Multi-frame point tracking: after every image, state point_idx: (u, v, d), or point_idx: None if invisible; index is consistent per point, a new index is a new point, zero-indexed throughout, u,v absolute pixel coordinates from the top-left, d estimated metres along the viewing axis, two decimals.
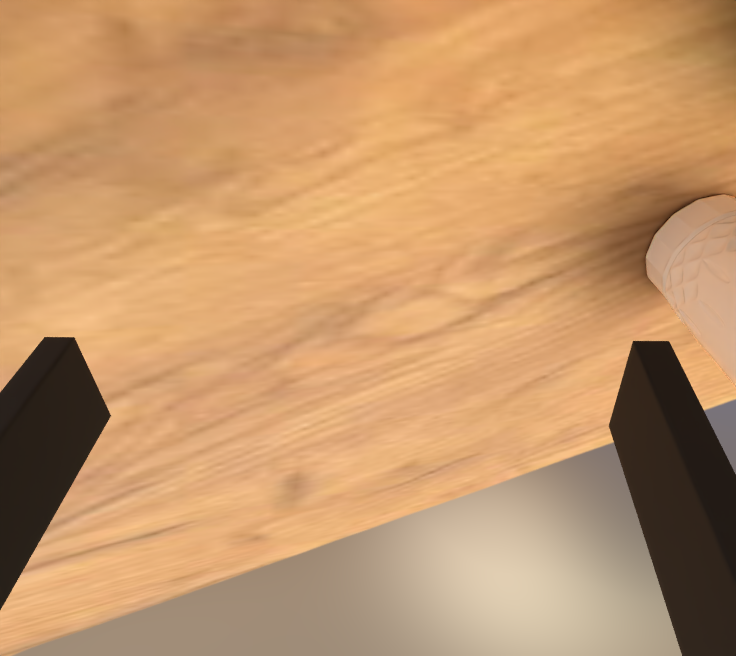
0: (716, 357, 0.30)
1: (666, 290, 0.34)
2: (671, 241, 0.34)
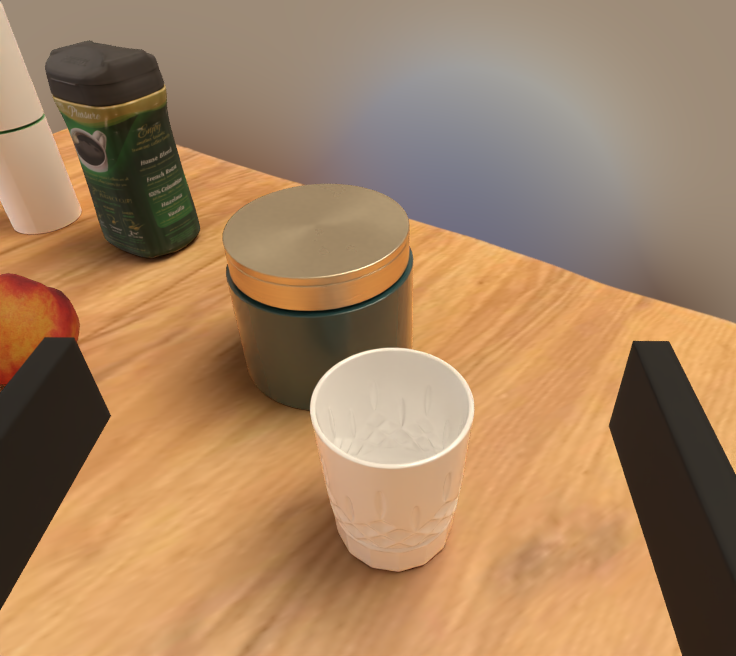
0: (351, 483, 0.27)
1: (351, 534, 0.31)
2: None
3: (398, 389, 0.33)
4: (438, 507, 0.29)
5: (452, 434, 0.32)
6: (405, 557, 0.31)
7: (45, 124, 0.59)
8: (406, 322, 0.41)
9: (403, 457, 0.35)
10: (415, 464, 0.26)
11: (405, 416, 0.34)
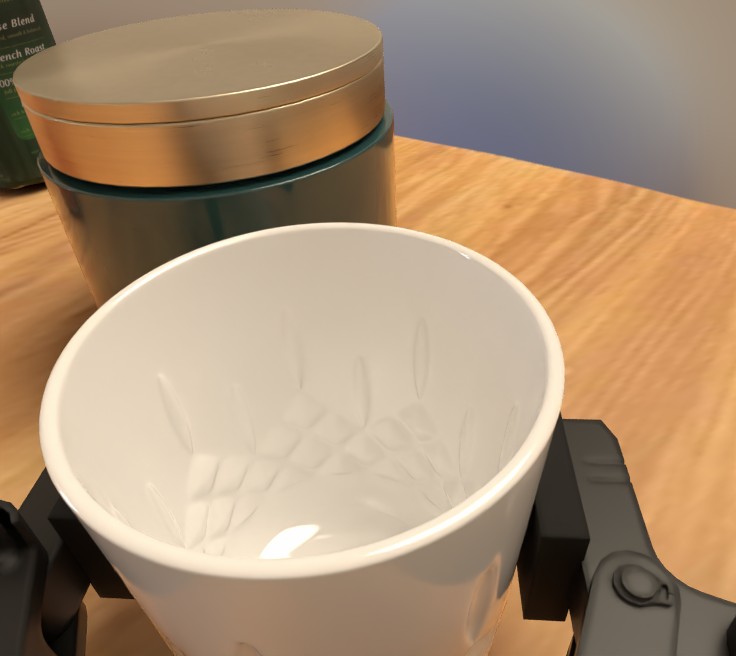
0: (156, 610, 0.08)
1: None
2: None
3: (350, 335, 0.14)
4: None
5: (483, 442, 0.13)
6: None
7: None
8: None
9: (371, 495, 0.16)
10: (362, 559, 0.06)
11: (372, 402, 0.15)
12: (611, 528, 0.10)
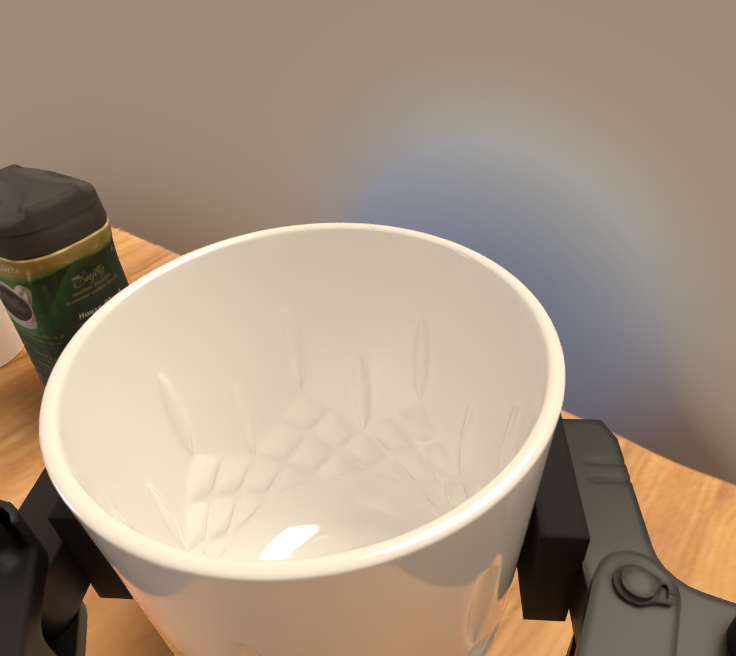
0: (156, 611, 0.08)
1: None
2: None
3: (350, 336, 0.14)
4: None
5: (483, 443, 0.12)
6: None
7: None
8: None
9: (371, 495, 0.16)
10: (362, 560, 0.06)
11: (372, 402, 0.15)
12: (611, 529, 0.10)
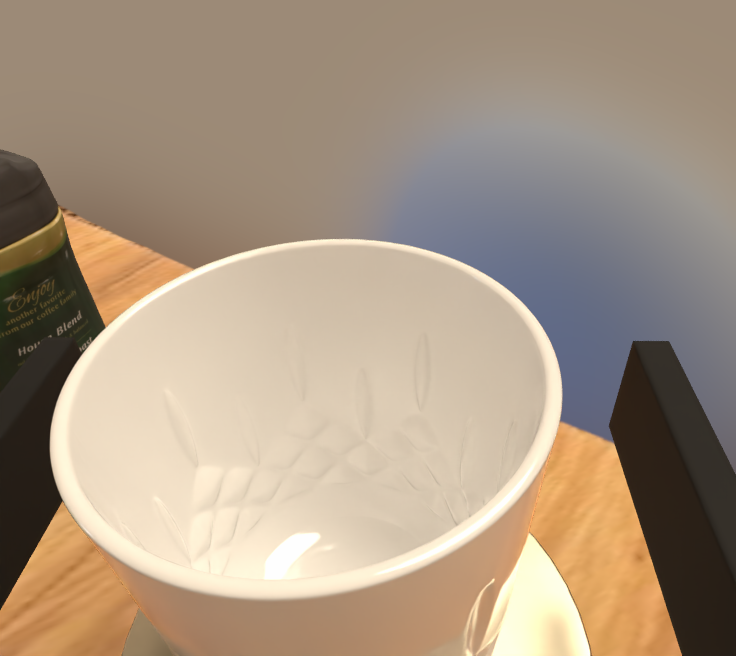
0: (164, 626, 0.08)
1: None
2: None
3: (352, 349, 0.14)
4: None
5: (483, 455, 0.13)
6: None
7: None
8: None
9: (374, 504, 0.16)
10: (364, 580, 0.07)
11: (374, 414, 0.15)
12: None
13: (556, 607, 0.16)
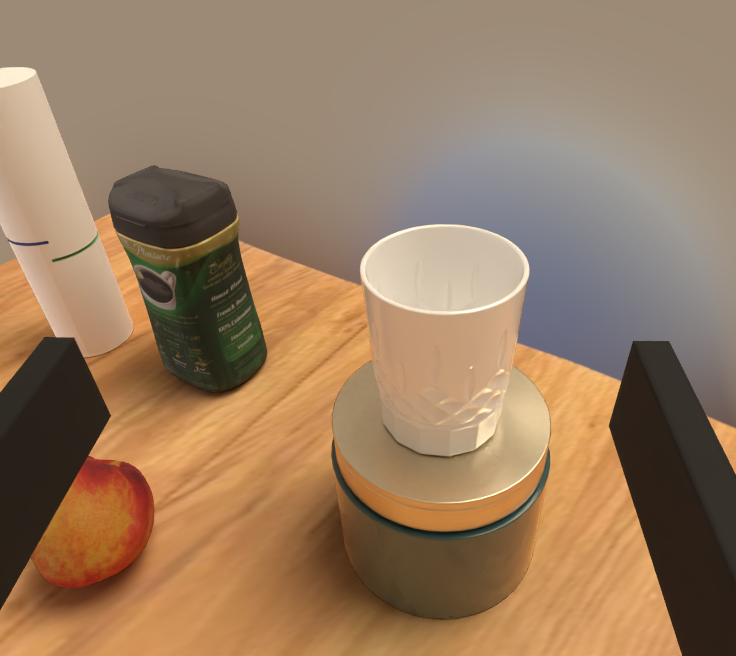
0: (405, 341, 0.26)
1: (401, 413, 0.30)
2: None
3: (444, 272, 0.32)
4: (493, 373, 0.28)
5: None
6: (456, 437, 0.30)
7: (99, 244, 0.55)
8: None
9: None
10: (473, 310, 0.25)
11: (451, 304, 0.33)
12: None
13: (534, 398, 0.34)
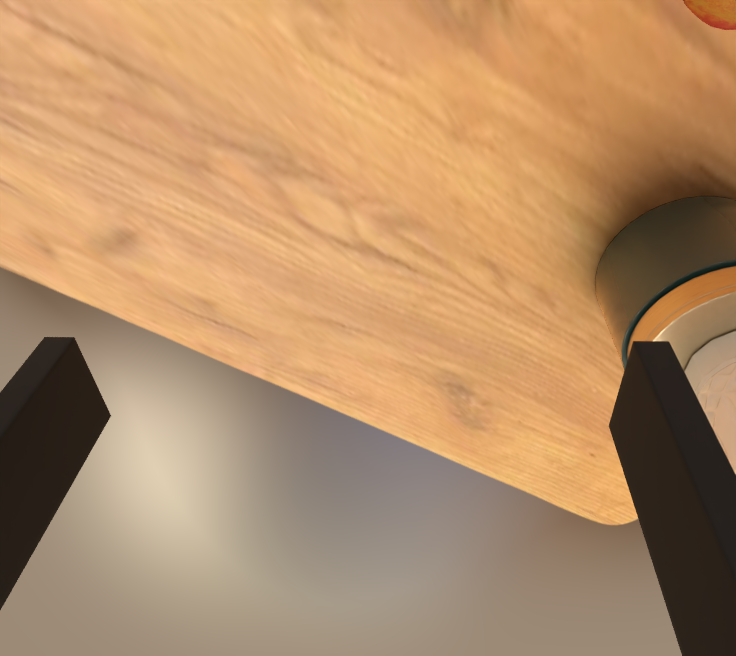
0: None
1: (718, 374, 0.35)
2: None
3: None
4: None
5: None
6: None
7: None
8: None
9: None
10: None
11: None
12: None
13: None
